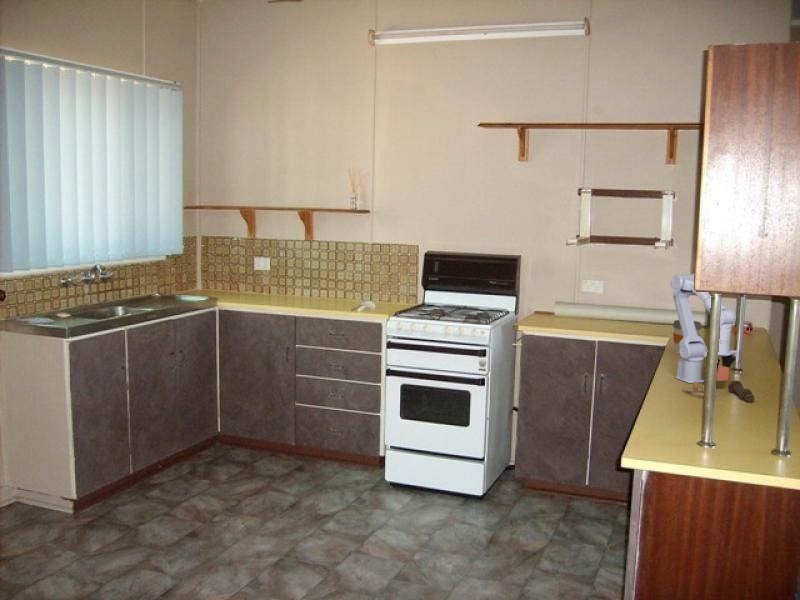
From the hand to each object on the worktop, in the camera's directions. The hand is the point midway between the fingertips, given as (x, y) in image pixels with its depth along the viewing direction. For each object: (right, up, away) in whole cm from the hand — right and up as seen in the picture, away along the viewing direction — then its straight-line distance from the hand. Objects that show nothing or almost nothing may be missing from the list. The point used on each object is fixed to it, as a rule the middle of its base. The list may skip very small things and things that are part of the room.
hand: (719, 374), depth 310 cm
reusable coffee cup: (+12, +4, +70) cm, 71 cm away
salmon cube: (0, -2, 0) cm, 2 cm away
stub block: (-10, -7, -7) cm, 14 cm away
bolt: (+4, -8, -10) cm, 14 cm away
